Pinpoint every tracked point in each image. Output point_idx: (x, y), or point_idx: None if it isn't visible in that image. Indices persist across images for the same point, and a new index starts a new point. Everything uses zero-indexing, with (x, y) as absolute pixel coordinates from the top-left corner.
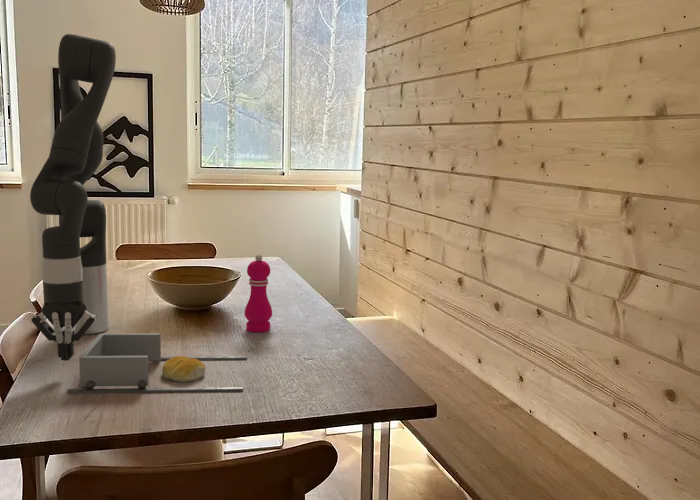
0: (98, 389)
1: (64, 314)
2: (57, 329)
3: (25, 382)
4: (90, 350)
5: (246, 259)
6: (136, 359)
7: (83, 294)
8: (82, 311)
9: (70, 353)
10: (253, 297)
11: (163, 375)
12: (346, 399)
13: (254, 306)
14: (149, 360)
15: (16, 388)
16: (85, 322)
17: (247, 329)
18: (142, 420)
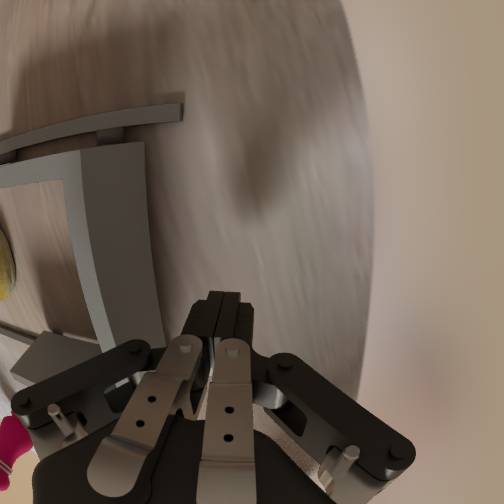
0: (89, 124)
1: (159, 492)
2: (228, 397)
3: (356, 221)
4: (75, 260)
5: None
6: None
7: None
8: (38, 465)
9: (197, 311)
10: (7, 447)
11: (3, 238)
12: None
13: (7, 435)
14: (60, 335)
15: (372, 167)
16: (53, 403)
17: None
18: (15, 7)
